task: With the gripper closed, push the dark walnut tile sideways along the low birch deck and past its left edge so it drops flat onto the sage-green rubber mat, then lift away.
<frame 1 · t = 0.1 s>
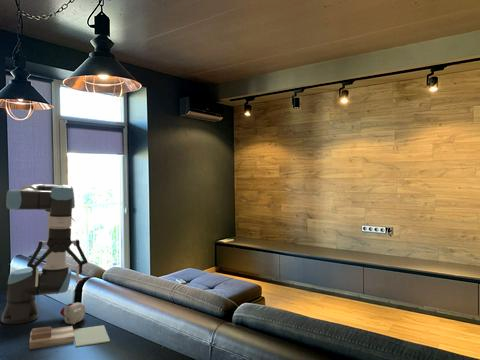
hand: (57, 284, 135), 28 cm above the table, fingers open, 13 cm apart
sage mat: (90, 335, 156), on the table
walnut tile: (41, 335, 148), point 2 cm above the table, touching birch deck
birch deck: (51, 339, 150), on the table
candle: (72, 321, 171), on the table
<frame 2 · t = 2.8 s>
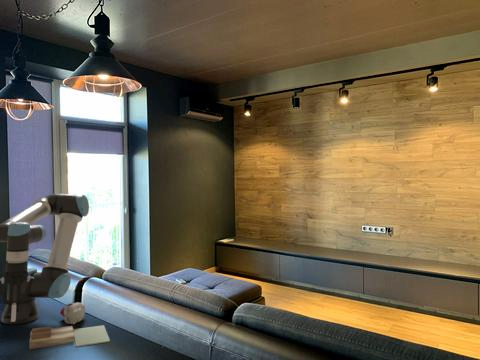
hand: (13, 320, 143), 10 cm above the table, fingers closed
nothing on the table moved.
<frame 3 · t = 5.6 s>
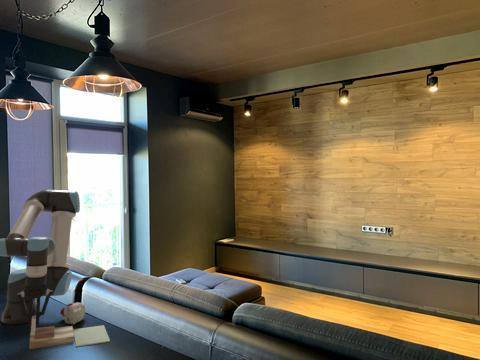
hand: (33, 332, 147), 4 cm above the table, fingers closed
walnut tile: (44, 334, 149), point 3 cm above the table
everything else where it was.
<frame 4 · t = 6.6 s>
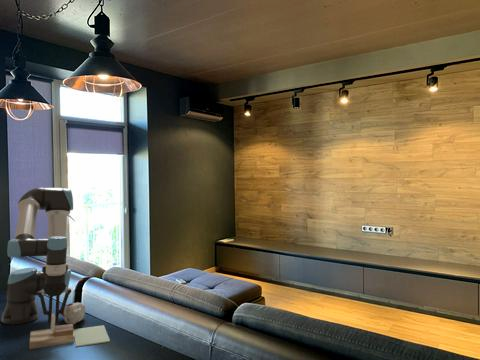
hand: (52, 330, 150), 4 cm above the table, fingers closed
walnut tile: (63, 332, 152), point 2 cm above the table, touching birch deck, gripper
everything else where it was.
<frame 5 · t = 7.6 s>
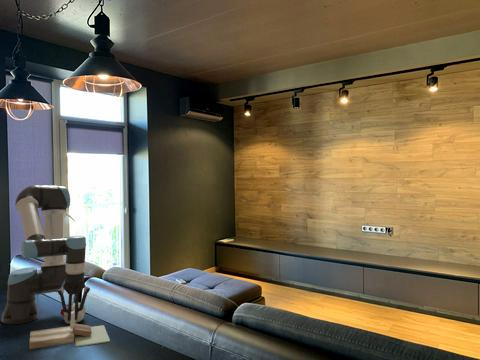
hand: (72, 327, 154), 4 cm above the table, fingers closed
walnut tile: (81, 332, 155), point 2 cm above the table, tilted 17°, touching gripper
everything else where it was.
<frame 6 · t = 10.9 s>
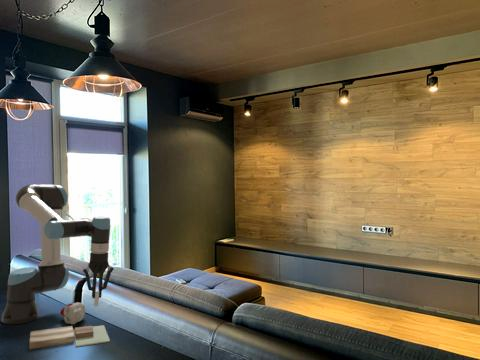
hand: (96, 305, 159), 12 cm above the table, fingers closed
walnut tile: (83, 334, 156), resting on sage mat
everything else where it was.
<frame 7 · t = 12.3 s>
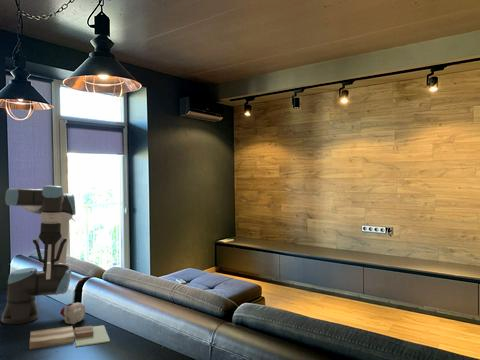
hand: (48, 278, 151), 26 cm above the table, fingers closed
nothing on the table moved.
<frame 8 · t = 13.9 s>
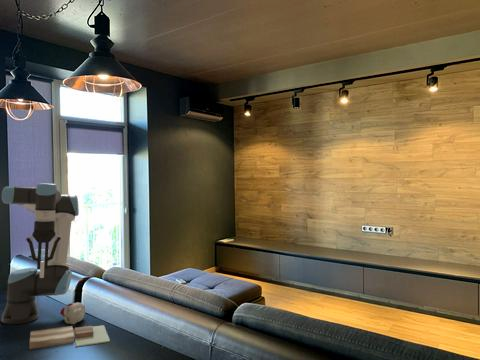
hand: (41, 276, 149), 26 cm above the table, fingers closed
nothing on the table moved.
at the end: walnut tile point 0.5 cm above the table; walnut tile inside the target area (3.4 cm from its centre), point 0.5 cm above the table; walnut tile tilted 0° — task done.
